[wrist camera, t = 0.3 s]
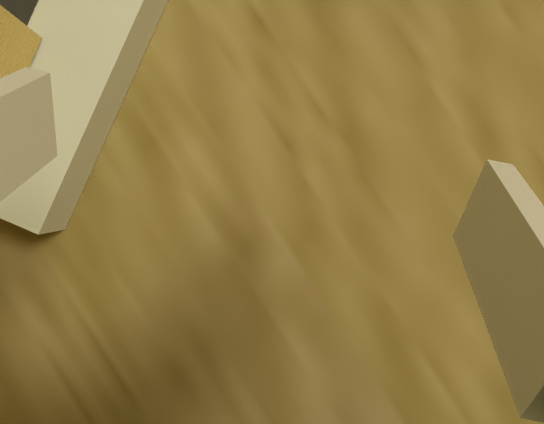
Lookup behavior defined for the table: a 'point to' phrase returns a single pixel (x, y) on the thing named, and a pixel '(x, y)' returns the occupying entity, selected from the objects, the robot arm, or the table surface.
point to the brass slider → (15, 43)
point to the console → (78, 93)
